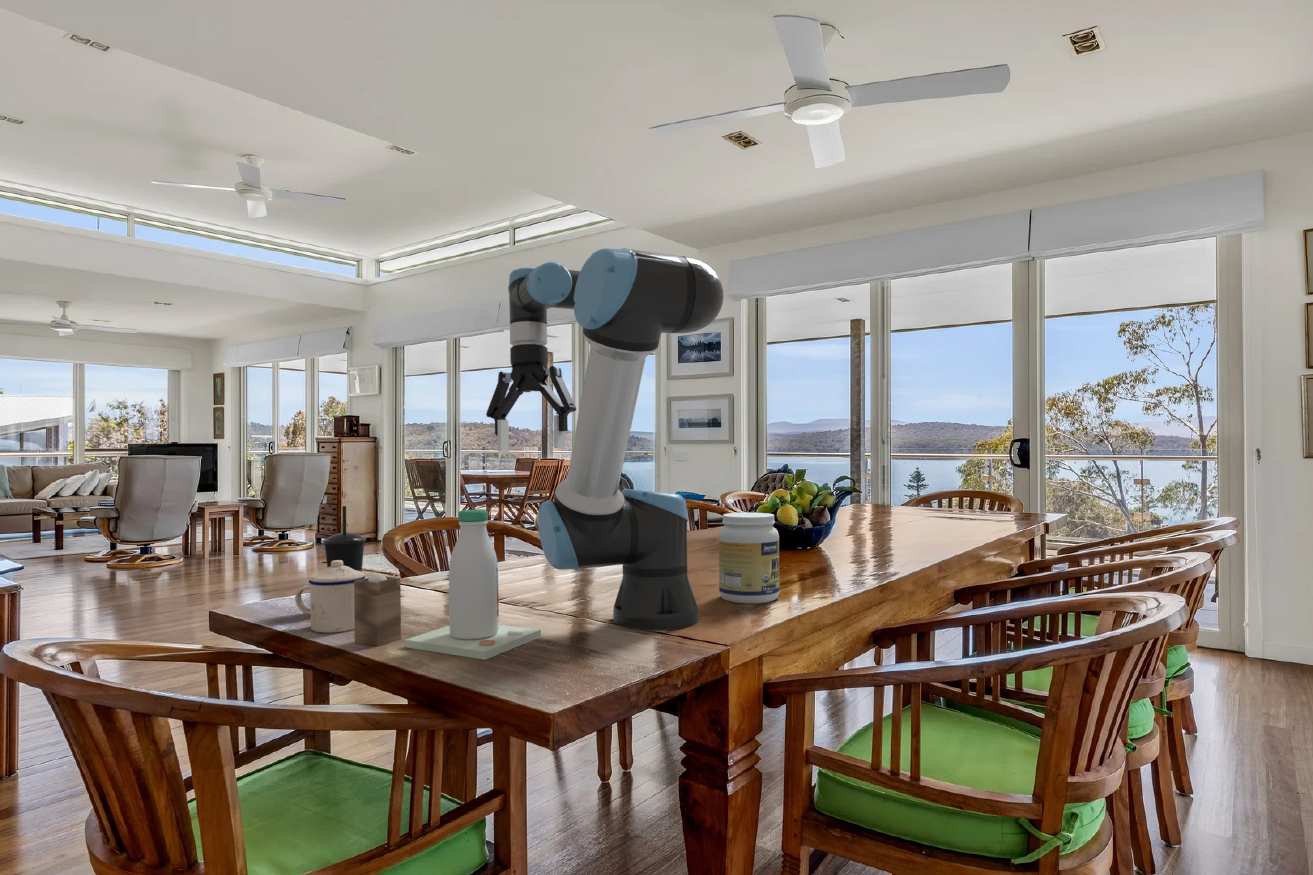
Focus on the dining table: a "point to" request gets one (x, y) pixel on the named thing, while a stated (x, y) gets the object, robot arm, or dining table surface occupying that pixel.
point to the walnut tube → (377, 611)
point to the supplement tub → (749, 558)
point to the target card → (473, 642)
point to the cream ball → (377, 577)
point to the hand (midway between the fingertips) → (531, 450)
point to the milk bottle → (473, 580)
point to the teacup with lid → (331, 598)
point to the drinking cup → (345, 547)
